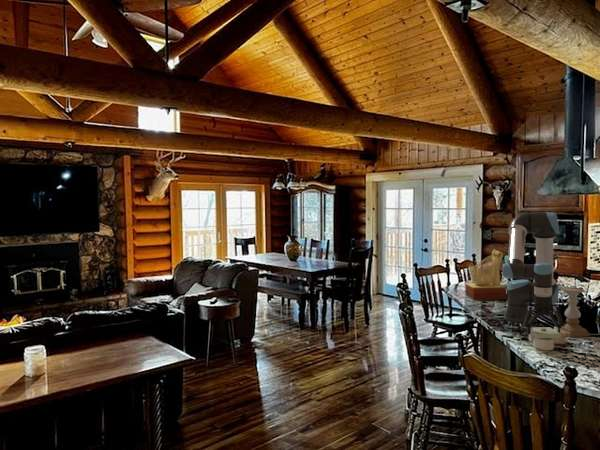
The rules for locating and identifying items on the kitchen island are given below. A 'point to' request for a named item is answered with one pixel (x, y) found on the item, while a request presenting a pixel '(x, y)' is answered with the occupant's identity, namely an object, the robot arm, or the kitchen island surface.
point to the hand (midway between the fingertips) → (543, 340)
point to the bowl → (543, 343)
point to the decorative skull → (490, 269)
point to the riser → (562, 339)
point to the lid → (545, 332)
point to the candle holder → (573, 314)
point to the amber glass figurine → (486, 280)
